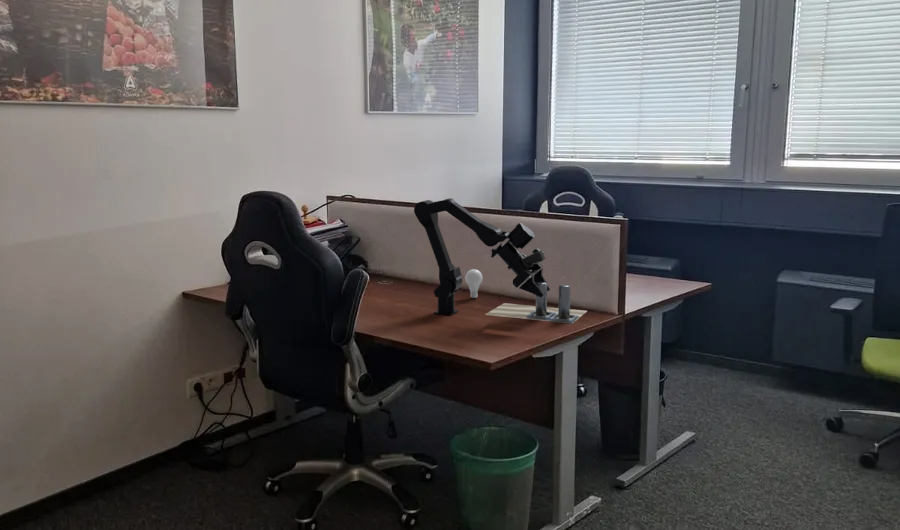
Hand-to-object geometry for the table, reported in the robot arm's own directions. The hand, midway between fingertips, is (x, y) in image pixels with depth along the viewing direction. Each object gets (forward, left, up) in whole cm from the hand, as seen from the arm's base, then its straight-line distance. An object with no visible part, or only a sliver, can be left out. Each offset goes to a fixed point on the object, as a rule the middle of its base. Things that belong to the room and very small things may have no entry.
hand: (545, 293), depth 244 cm
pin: (0, +1, -8) cm, 8 cm away
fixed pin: (-1, -7, -8) cm, 10 cm away
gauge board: (+4, +4, -9) cm, 11 cm away
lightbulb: (+21, +34, -9) cm, 41 cm away
